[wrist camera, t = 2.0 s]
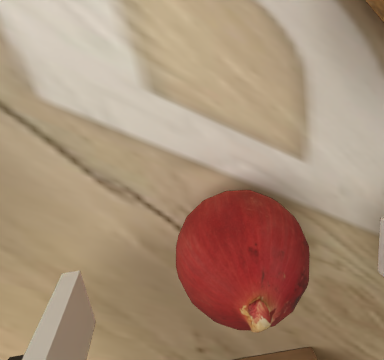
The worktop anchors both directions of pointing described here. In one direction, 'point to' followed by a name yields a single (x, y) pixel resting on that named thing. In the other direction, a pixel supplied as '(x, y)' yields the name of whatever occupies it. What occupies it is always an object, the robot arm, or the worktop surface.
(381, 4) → the potato
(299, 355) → the walnut tray
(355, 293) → the worktop surface
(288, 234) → the pomegranate
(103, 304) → the worktop surface
